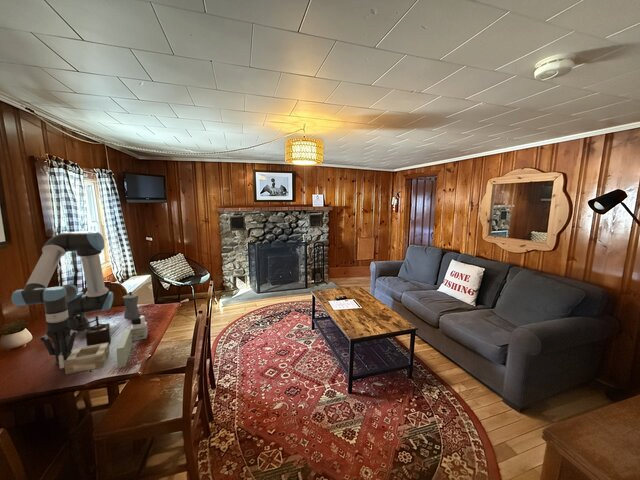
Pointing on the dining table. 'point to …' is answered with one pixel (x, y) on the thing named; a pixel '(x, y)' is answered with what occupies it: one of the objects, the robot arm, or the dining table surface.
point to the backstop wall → (124, 348)
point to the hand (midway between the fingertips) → (63, 366)
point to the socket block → (87, 358)
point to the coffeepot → (131, 305)
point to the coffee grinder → (95, 332)
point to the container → (139, 328)
